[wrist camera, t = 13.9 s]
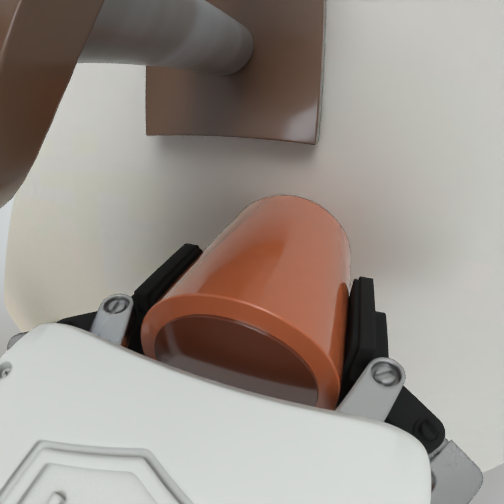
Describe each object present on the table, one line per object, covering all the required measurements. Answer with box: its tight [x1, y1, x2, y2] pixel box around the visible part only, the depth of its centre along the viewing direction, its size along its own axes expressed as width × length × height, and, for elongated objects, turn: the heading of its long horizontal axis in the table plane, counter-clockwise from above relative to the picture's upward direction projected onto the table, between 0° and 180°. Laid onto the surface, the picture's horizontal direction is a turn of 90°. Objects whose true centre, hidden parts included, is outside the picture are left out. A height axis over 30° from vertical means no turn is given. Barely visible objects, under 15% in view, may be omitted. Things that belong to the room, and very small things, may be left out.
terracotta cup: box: [140, 195, 350, 410], centre depth 11 cm, size 6×6×8 cm
